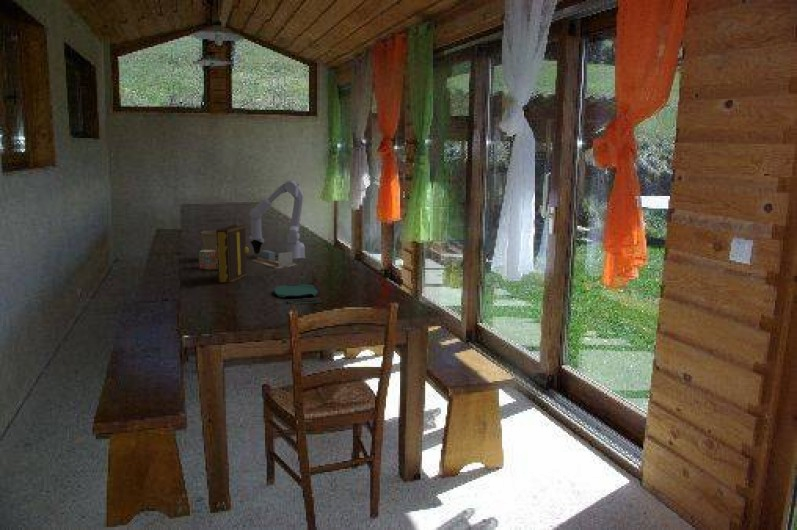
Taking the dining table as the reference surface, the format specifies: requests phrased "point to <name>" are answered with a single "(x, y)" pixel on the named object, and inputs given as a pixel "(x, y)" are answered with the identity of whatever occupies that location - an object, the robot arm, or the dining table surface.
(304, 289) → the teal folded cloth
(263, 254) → the blue-grey rectangular block
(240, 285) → the dining table surface
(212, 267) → the stack of blocks
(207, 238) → the plant pot
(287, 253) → the shelf slot
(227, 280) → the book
